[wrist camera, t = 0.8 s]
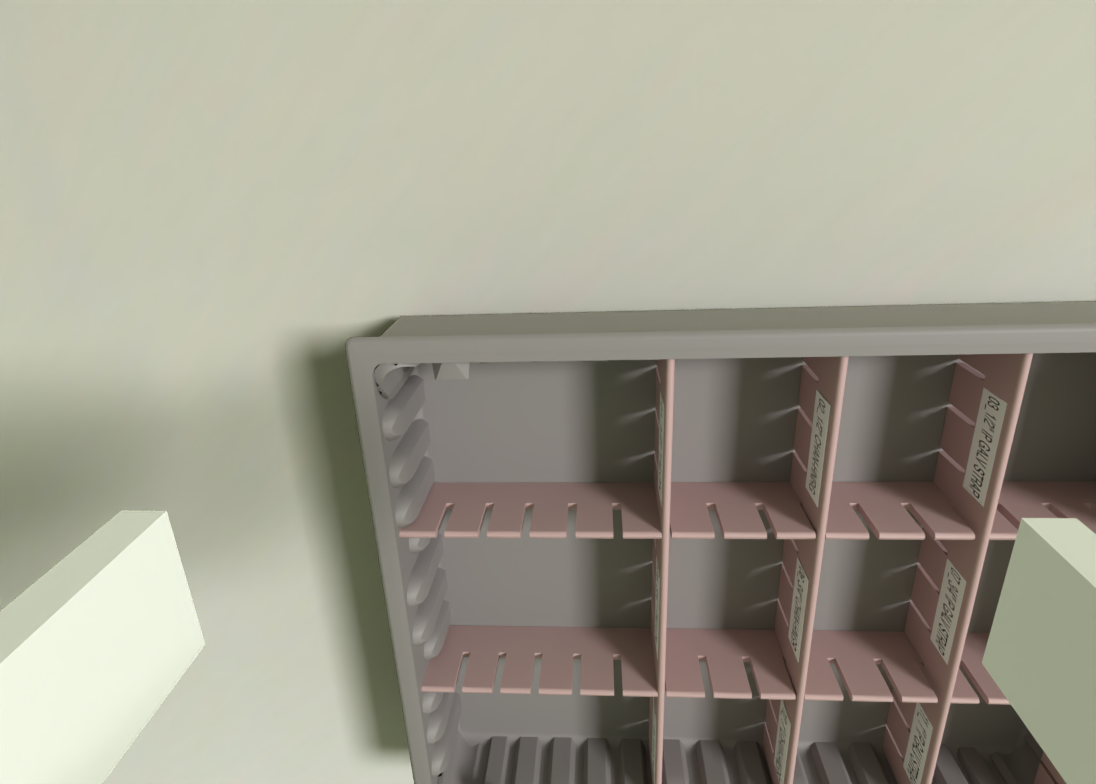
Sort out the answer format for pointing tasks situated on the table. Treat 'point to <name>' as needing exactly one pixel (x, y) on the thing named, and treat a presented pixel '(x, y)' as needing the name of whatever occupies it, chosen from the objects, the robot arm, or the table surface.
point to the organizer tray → (717, 536)
